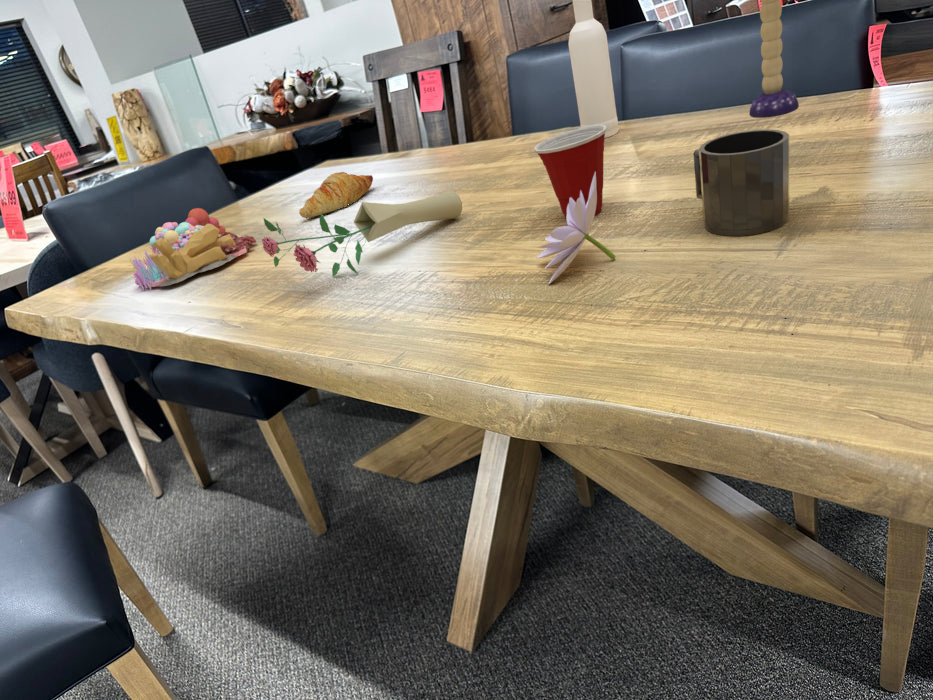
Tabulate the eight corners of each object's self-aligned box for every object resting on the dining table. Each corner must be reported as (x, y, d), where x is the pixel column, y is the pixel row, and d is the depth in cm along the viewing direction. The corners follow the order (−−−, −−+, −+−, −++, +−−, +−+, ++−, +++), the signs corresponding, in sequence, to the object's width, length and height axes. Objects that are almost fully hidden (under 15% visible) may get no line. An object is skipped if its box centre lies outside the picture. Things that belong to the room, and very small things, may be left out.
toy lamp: (806, 111, 58) (805, -106, 50) (751, 123, 59) (742, -87, 51) (791, 102, 62) (789, -100, 54) (740, 113, 63) (731, -83, 55)
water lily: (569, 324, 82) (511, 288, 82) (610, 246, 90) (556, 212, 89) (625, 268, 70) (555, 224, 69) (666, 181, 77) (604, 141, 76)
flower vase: (470, 263, 112) (297, 313, 89) (424, 238, 119) (252, 279, 96) (480, 198, 106) (297, 234, 83) (430, 176, 113) (249, 204, 90)
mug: (807, 213, 78) (808, 131, 73) (748, 242, 75) (746, 158, 70) (725, 199, 89) (721, 126, 84) (671, 223, 86) (664, 149, 81)
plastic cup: (559, 203, 105) (546, 130, 99) (625, 197, 99) (615, 119, 94) (537, 229, 97) (521, 150, 91) (606, 224, 91) (594, 140, 86)
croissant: (317, 237, 136) (316, 206, 130) (285, 216, 139) (282, 184, 133) (385, 199, 148) (387, 169, 142) (354, 181, 152) (354, 150, 146)
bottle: (575, 141, 140) (551, -11, 126) (596, 130, 144) (576, -18, 130) (604, 140, 135) (582, -19, 121) (626, 129, 139) (607, -26, 125)
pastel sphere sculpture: (275, 245, 125) (257, 200, 121) (162, 298, 112) (137, 250, 108) (222, 237, 143) (204, 197, 138) (119, 282, 130) (96, 240, 125)
